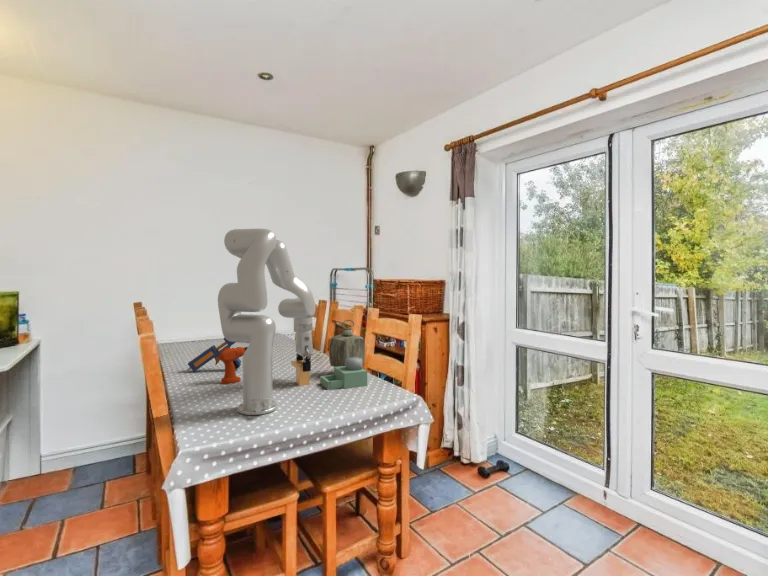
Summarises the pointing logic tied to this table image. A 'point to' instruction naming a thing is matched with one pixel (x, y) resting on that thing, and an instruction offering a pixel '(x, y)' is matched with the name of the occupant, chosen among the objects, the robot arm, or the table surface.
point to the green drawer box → (346, 375)
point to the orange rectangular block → (300, 373)
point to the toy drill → (231, 363)
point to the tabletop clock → (346, 347)
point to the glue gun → (210, 356)
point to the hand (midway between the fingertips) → (303, 368)
